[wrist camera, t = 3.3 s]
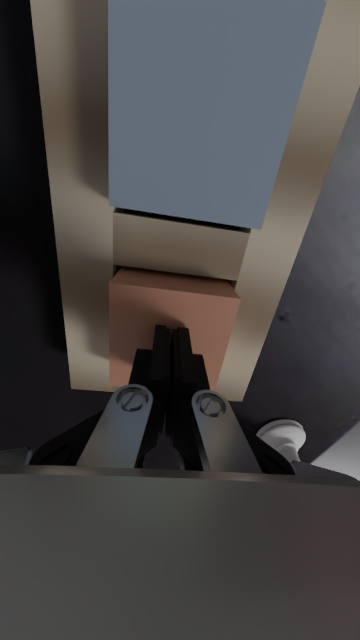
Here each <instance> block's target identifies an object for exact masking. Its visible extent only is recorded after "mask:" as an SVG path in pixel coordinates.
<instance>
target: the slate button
mask: <svg viewBox="0 0 360 640" xmlns="http://www.w3.org/2000/svg"><path fill="white" fill-rule="evenodd" d="M326 3H327V1H325V0H108V134H109V206H112V207H118V208H125V209H131V210H137V211H144V212H150V213H157V214H163V215H169V216H176V217H182V218H189V219H195V220H201V221H208V222H214V223H220V224H227V225H233V226H240V227H246V228H252V229H259V230H261V229H262V225H263V222H264V218H265V215H266V211H267V208H268V204H269V201H270V197H271V194H272V190H273V187H274V183H275V180H276V176H277V173H278V169H279V166H280V162H281V159H282V156H283V152H284V149H285V145H286V142H287V138H288V135H289V131H290V128H291V124H292V121H293V117H294V114H295V110H296V107H297V103H298V100H299V96H300V93H301V89H302V86H303V83H304V79H305V76H306V72H307V69H308V65H309V62H310V58H311V55H312V51H313V48H314V44H315V41H316V37H317V34H318V30H319V27H320V23H321V20H322V16H323V13H324V9H325V6H326Z"/></svg>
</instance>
